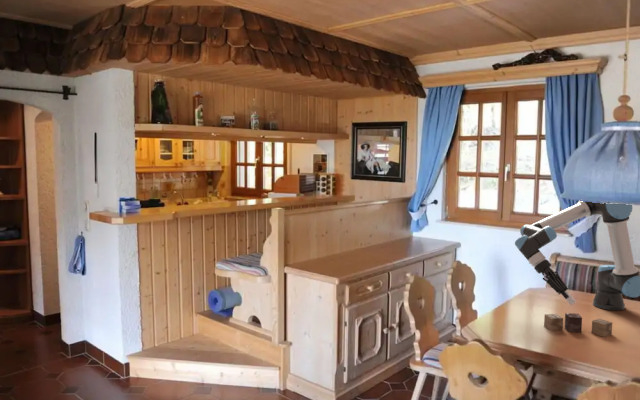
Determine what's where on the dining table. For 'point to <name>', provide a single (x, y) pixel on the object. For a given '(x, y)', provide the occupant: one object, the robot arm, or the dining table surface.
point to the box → (573, 322)
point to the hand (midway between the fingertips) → (573, 303)
